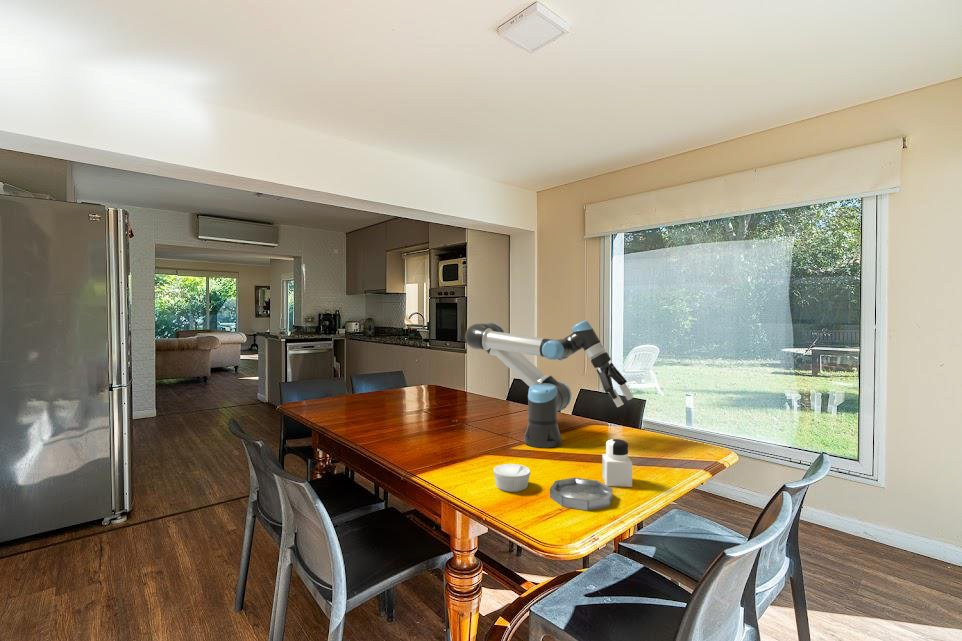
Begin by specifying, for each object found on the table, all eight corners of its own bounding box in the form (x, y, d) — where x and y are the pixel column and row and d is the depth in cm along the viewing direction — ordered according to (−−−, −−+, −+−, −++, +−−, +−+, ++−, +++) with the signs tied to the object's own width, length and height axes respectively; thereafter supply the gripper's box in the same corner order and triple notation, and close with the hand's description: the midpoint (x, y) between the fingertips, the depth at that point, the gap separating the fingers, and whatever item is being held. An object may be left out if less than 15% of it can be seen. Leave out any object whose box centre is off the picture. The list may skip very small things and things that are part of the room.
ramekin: (536, 491, 134) (536, 473, 134) (500, 495, 131) (500, 477, 131) (522, 478, 145) (522, 462, 145) (488, 482, 142) (488, 465, 142)
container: (626, 478, 145) (626, 437, 145) (632, 487, 137) (632, 444, 137) (602, 477, 145) (602, 437, 145) (606, 486, 138) (606, 444, 138)
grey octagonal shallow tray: (545, 503, 125) (545, 494, 125) (559, 483, 141) (559, 475, 141) (606, 513, 119) (606, 504, 119) (614, 491, 134) (614, 483, 134)
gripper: (594, 354, 174) (624, 404, 168) (615, 348, 194) (642, 392, 189) (579, 364, 178) (607, 413, 172) (601, 356, 198) (627, 400, 193)
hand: (625, 402), depth 181 cm, fingers open, 13 cm apart
